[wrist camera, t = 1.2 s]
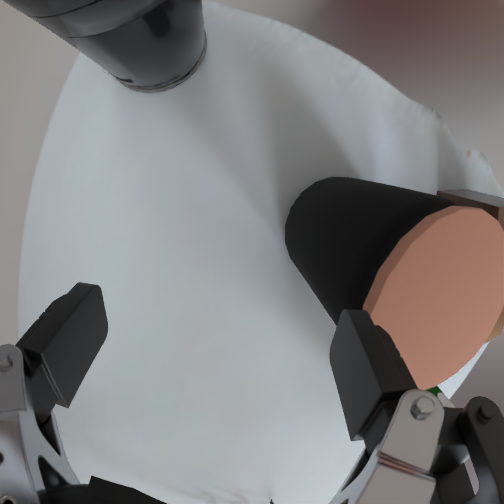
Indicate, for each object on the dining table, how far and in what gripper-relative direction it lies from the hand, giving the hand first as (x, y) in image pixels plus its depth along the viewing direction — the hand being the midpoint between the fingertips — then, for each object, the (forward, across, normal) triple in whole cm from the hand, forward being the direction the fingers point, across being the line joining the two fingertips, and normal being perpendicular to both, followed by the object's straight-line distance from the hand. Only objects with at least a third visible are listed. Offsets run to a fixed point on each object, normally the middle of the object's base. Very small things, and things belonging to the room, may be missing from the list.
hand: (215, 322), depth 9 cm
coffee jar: (+20, -10, +3) cm, 22 cm away
